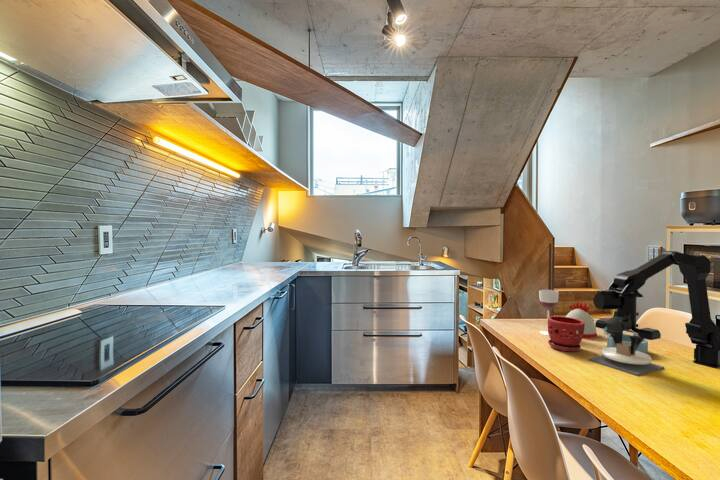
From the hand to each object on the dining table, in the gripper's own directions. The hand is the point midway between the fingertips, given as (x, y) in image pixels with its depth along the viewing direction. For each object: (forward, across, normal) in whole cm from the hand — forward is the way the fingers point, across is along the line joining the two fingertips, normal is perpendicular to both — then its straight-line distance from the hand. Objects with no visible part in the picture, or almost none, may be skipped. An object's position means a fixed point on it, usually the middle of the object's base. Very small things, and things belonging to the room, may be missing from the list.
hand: (625, 352), depth 129 cm
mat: (+4, 0, 0) cm, 4 cm away
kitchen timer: (+5, -33, +23) cm, 40 cm away
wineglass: (+4, -39, +10) cm, 40 cm away
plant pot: (+4, -21, -3) cm, 22 cm away
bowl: (+4, -9, +17) cm, 20 cm away
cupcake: (+4, -28, +38) cm, 47 cm away
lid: (+2, 0, 0) cm, 2 cm away
